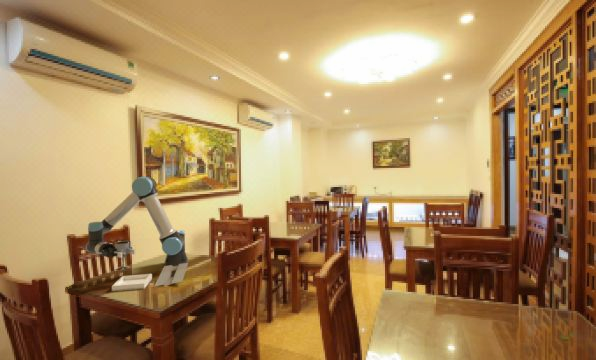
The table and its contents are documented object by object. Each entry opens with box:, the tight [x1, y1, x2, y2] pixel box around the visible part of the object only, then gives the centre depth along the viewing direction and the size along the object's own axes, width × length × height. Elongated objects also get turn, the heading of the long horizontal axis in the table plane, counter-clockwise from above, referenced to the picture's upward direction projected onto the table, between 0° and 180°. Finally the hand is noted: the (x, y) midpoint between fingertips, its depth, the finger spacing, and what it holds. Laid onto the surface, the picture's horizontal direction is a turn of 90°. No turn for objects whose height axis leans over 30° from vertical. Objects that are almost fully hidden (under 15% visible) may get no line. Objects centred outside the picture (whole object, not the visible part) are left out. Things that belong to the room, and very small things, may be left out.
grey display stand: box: [154, 262, 189, 287], centre depth 174 cm, size 16×9×15 cm
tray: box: [111, 273, 153, 292], centre depth 168 cm, size 16×16×3 cm
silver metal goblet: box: [114, 240, 132, 271], centre depth 170 cm, size 8×8×15 cm
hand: (128, 253), depth 168 cm, fingers closed on silver metal goblet, 7 cm apart
